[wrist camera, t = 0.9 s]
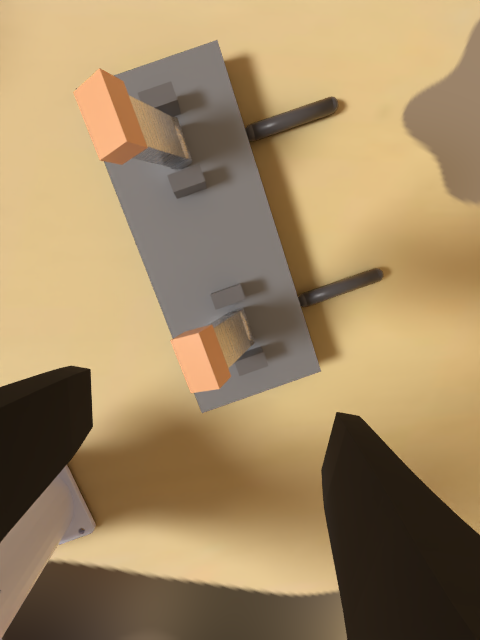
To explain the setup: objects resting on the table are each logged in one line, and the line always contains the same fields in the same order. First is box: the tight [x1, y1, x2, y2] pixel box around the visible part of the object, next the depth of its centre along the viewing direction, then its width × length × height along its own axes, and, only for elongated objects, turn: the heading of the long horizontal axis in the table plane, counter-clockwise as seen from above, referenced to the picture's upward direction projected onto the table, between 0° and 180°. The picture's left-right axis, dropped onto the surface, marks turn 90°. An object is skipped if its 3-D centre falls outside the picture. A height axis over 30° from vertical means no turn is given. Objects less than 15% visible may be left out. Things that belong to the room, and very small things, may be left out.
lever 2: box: [170, 308, 255, 393], centre depth 18 cm, size 2×3×6 cm, turn 17°
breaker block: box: [76, 40, 383, 413], centre depth 21 cm, size 16×22×4 cm
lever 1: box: [73, 68, 192, 169], centre depth 16 cm, size 2×3×6 cm, turn 17°
